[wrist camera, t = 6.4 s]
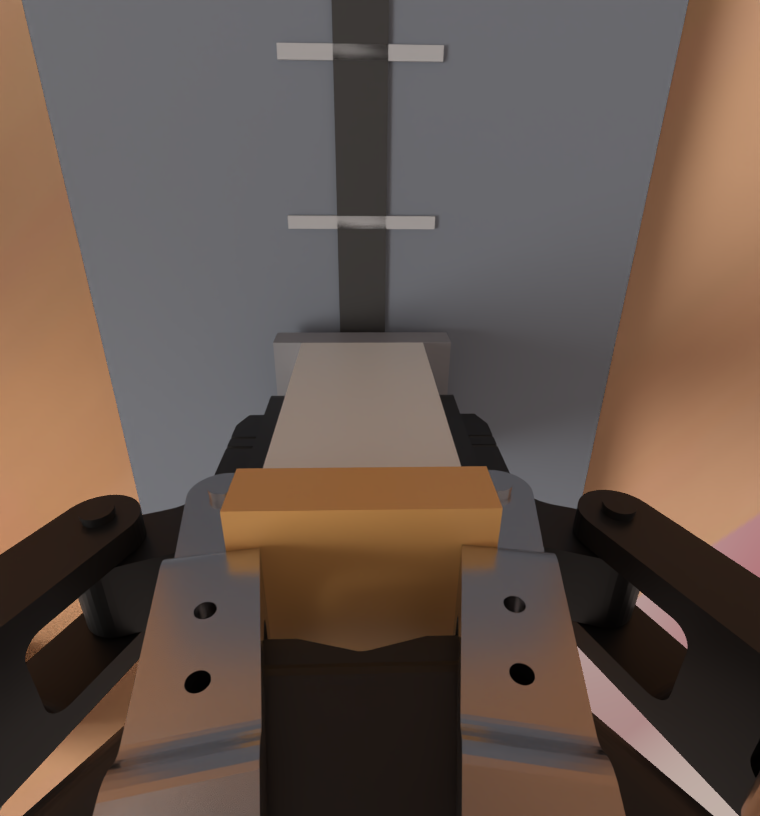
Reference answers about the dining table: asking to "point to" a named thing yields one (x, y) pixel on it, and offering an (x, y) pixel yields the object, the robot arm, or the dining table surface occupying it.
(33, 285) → the dining table surface
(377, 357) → the fader knob
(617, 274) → the console
